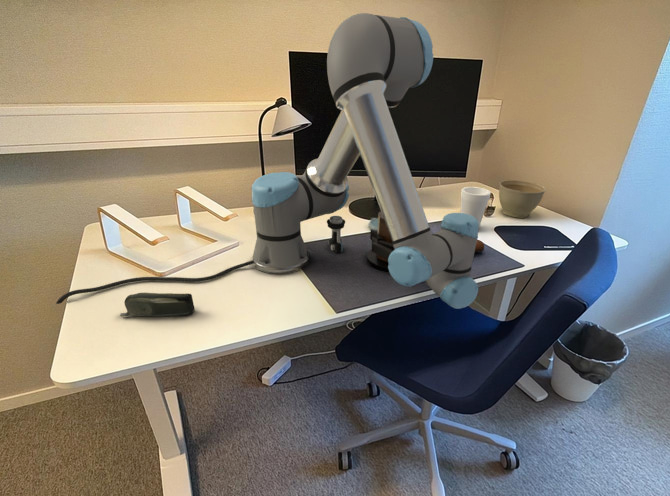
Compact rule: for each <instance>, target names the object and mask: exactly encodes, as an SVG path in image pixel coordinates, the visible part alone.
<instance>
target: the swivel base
mask: <svg viewBox="0 0 670 496" xmlns="http://www.w3.org/2000/svg"><path fill="white" fill-rule="evenodd" d="M371 250H372V248H371V249H369V251H368V252H367V253H366V262H367V264H368V265H369V266H370V267H371V268H373V269H375V270H376V271H379V272H383V273H387V274H390V272H389V269H388V265H389V263H388V262H386V261H383V260H381V259H378V258H377V254H376V253H374V252H372V251H371Z"/></svg>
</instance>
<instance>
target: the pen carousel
mask: <svg viewBox="0 0 670 496" xmlns="http://www.w3.org/2000/svg"><path fill="white" fill-rule="evenodd" d="M377 218H378V229H377V232H376V233H377V234H378V235H379V236H380V237H382V238H383V241H385V242H389V243H392V239H391V237H390V234H389V231H388V228H387V226H386V223H385V220H384V218H383V215H382V212H381V211H379V212H378V214H377ZM392 244H393V243H392ZM377 258H378V259H381V260H383V261H386V262H388V260H387V259H385V258H383V257H381V256H380V255H378V254H377ZM388 263H389V262H388Z"/></svg>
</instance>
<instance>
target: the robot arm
mask: <svg viewBox="0 0 670 496" xmlns="http://www.w3.org/2000/svg"><path fill="white" fill-rule="evenodd" d="M433 48H434V46H433V41H432V38H431V36H430V33H429V32H428V30H427V28H426V27H425V26H424V25H423V24H422V23H420V22H419V21H417V20H413V19H411V18H408V17H405V16H401V17H394V16H388V15H387V16H386V15H379V14H373V13H368V12H367V13H366V12H362V13H361V12H360V13H355V14H353V15H350V16H349V17H346V18H345V20H343V21H342V22H340V24H339V25H338V27H337V28H336V29H335V30H334V33H333V34H332V37H331V39H330V42H329V45H328V49H327V58H326V71H327V79H328V85H329V89H330V92H331V93H330V94H331V95H332V98H333V101H334V103H335V107H336V109H338V110H339V111H340V113H339V114H338V117H337V118H336V120H335V122H334V125H333V127H332V129H331V131H330V133H329V135H328V137H327V139H326V141H325V144H324V146H323V148H322V150H321V152H320V153H319V156H318V158H315V159H313V160H311V161H309V162H308V165H307V167H306V169H305V171H304V173H303V174H302V175H298V176H297V175H296V174H295V173H293V172H288V171H279V172H270V173H267V174H264V175H261V176H259V177H258V178H256V179H255V180H254V182H253V183H252V184H251V202H252V207H253V215H254V224H255V230H256V240H255V245H254V249H253V253H252V260H249V261H245V262H243V263H240V264H237V265H233V266H231V267H228V268H226V269H224V270H222V271H220V272H218V273H215V274H213V275H209V276H202V277H181V276H178V277H177V276H139V277H132V278H127V279H122V280H118V281H114V282H111V283H107V284H103V285H99V286H96V287H89V288H80V289H74V290H70V291H67V292H66V293H64V294H62V295H61V296H60V297H59V299H57V301H56V305H59V304H62V303H63V302H64V301H65V300H67V299H68V298H70V297H72V296H75V295H80V294H87V293H94V292H99V291H103V290H106V289H111V288H114V287H117V286H120V285H125V284H129V283H136V282H144V281H145V282H147V281H148V282H150V281H153V282H186V283H200V282H206V281H211V280H214V279H218V278H220V277H222V276H224V275H226V274H229V273H230V272H233V271H236V270H238V269H241V268H244V267H248V266H250V265H253V266H254V268H255V269H257V270H258V271H260V272H262V273H266V274H272V275H284V274H285V275H286V274H291V273H295V272H299V271H301V270H303V269H304V268H306V267H307V265H308V264H309V262H310V256H309V255H310V254H309V253H310V251H309V250H308V249H307V246H306V243H305V241H304V238H303V237H302V230H301V223H302V222H305V221H308V220H312V219H314V218H317V217H321V216H325V215H331V214H333V213H336V212H337V211H339V210H341V209H343V207H345V206H346V204H347V202H348V201H349V195H350V192H348V191H349V190H350V186H349V179H348V176H349V174H350V172H351V170H352V169H353V167H354V165H355V163H356V162H357V160H358V159H359V157H360V158H361V160H362V163H363V166H364V169H365V171H366V174H367V176H368V179H369V182H370V185H371V188H372V191H373V193H374V196H375V198H376V200H377V204H378V206H379V209H380V212H382V215H383V218H384V220H385V223H386V226H387V228H388V231H389V234H390V237H391V239H392V243H393V244H392V243H389V242H385V241H383V238H382V237H380V236H379V235H378V234H377V232H376V231H374V230H372V229H370V233H369V234H370V236H369V239H370V241H371V249H372V250H371V249H370V250H371V251H372V252H374V253H376V254H378V255H380V256H381V257H383V258H385V259H387V260H388V262H389V265H388V269H389V272H390V273H389V274H390V276H391V277H392V279H393V280H394V281H395V282H396V283H397V284H399V285H400V286H404V287H413V286H415V285H417V284H420V283H424V284H425V285H426V286H427V287H429V288H430V289H431V290H432V292H434V293H435V294H436V295H437V296H438V297H439V298H440V300H441V301H443V302H444V303H445V304H447V305H448V306H449V307H451V308H453V309H456V310H458V309H459V310H461V309H464V308H466V307H468V306H470V305H471V304H472V303H473V302H474V301H475V299H476V298H477V296H478V293H479V286H478V283H477V282H476V280H475V279H474V278H473V277H472V276H471V272H472V265H473V261H474V256H475V253H474V252H475V247H476V242H477V240H479V229H478V228H480V226H479V222H478V220H477V219H476V218H475V217H473V216H471V215H468V214H464V213H461V212H450V213H447V214H444V216H443V218H442V220H441V224H440V230H438V231H435V232H434V233H432V230H431V227H430V226H429V222H428V219H427V215H426V213H425V210H424V207H423V203H422V201H421V199H420V195H419V193H418V189H417V187H416V184H415V181H414V177H413V176H412V173H411V170H410V166H409V164H408V161H407V159H406V155H405V152H404V149H403V147H402V144H401V141H400V138H399V135H398V132H397V129H396V126H395V124H394V120H393V118H392V115H391V112H390V109H392V108H396V107H397V106H399V104H400V103H401V101H402V100H403V98H404V97H405V95H406V93H407V92H408V90H409V89H410V88H411V89H413V88H416V87H418V86H420V85H421V84H423V83H424V82H425V81H426V80H427V78H428V77H429V75H430V73H431V71H432V67H433V63H434V53H433Z"/></svg>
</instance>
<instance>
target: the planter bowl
mask: <svg viewBox="0 0 670 496" xmlns="http://www.w3.org/2000/svg"><path fill="white" fill-rule="evenodd" d="M545 193H546V188H545V187H544V186H543V185H540V184H537V183H535V182H531V181H525V180H518V179H506V180H502V181H500V182H499V189H498V200H499V203H500V206H501V208H502V213H503V214H504V215H505V216H508V217H511V218H517V219H524V218H528V216H529V215H530V213H532V212H533V211H534V210H535V209H536V208H537V207H538V206H539V205H540V203H541V202H542V200H543V197H544V194H545Z"/></svg>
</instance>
